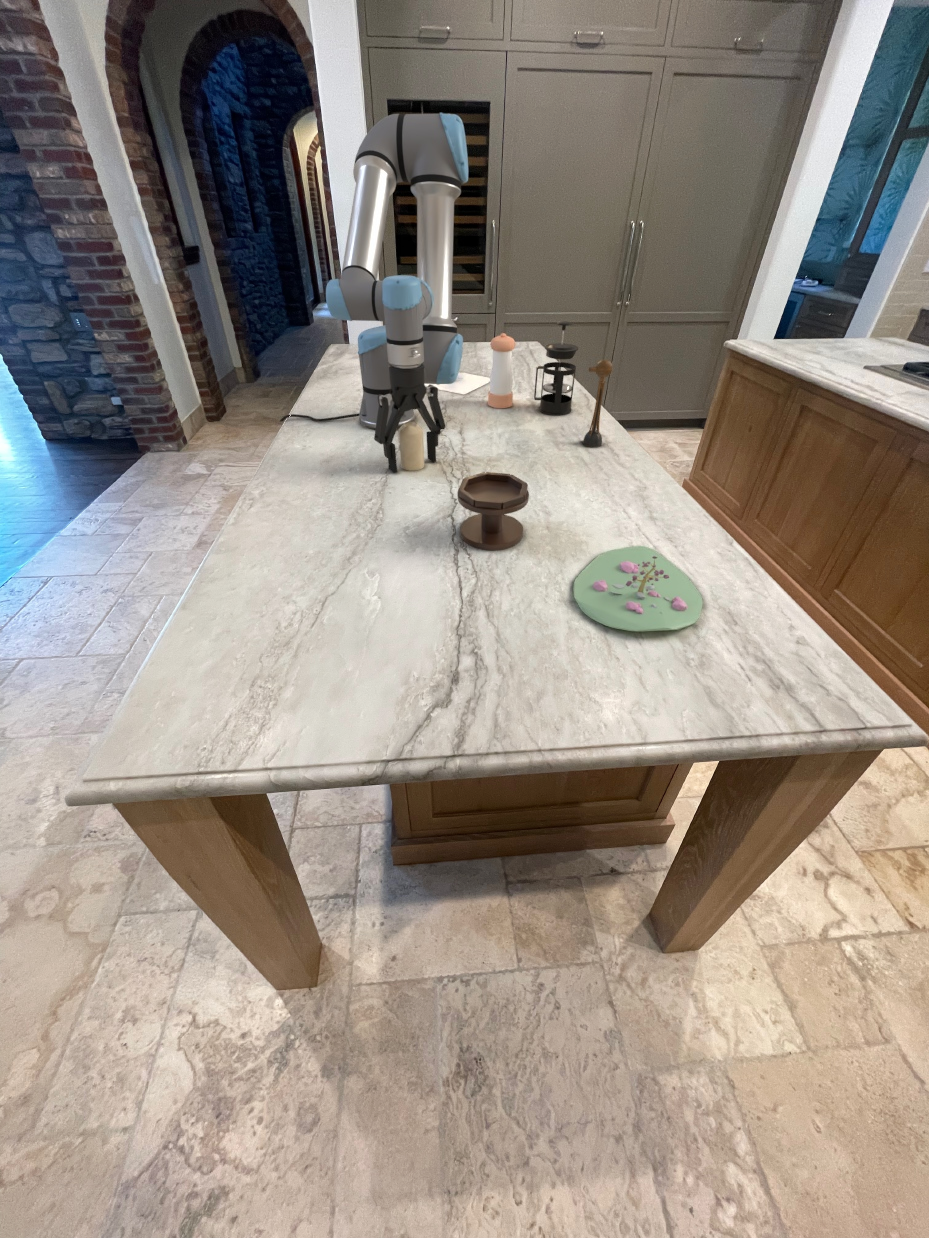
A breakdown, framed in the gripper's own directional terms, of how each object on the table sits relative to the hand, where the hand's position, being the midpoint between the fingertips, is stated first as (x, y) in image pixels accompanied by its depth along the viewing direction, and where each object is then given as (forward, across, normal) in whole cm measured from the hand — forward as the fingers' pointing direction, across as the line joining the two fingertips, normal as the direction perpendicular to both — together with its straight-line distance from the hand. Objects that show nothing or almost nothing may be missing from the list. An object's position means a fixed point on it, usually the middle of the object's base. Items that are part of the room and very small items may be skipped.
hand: (412, 465), depth 126 cm
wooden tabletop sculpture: (0, +45, -13) cm, 47 cm away
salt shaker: (0, +44, +24) cm, 50 cm away
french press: (0, +54, +11) cm, 55 cm away
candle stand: (0, -3, -35) cm, 36 cm away
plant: (0, +6, -63) cm, 63 cm away
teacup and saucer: (0, +45, +51) cm, 68 cm away
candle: (0, 0, 0) cm, 0 cm away
